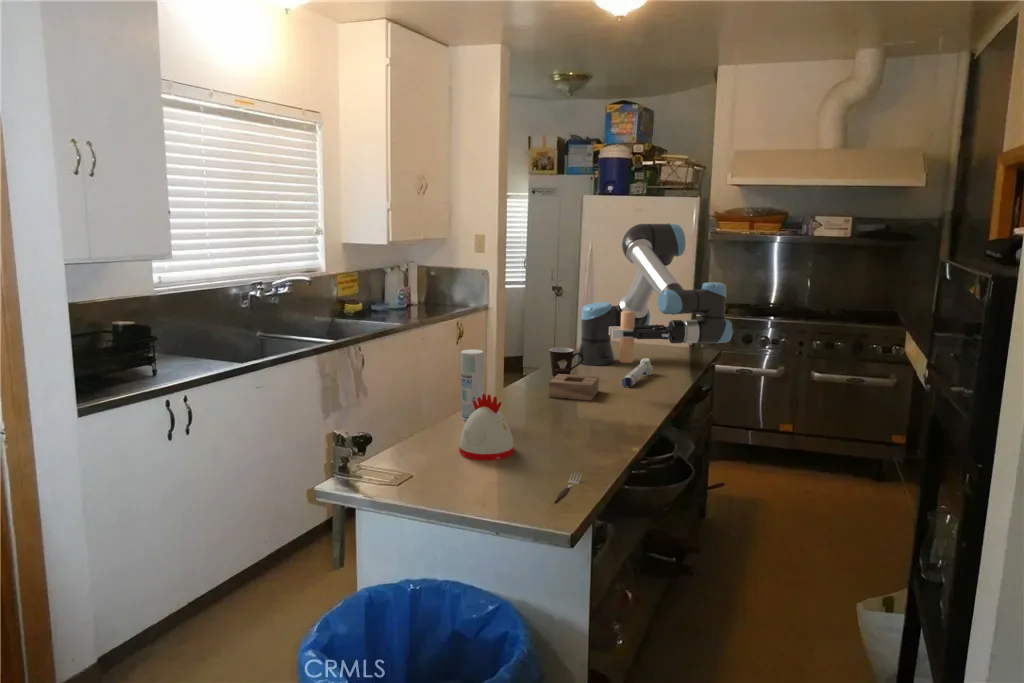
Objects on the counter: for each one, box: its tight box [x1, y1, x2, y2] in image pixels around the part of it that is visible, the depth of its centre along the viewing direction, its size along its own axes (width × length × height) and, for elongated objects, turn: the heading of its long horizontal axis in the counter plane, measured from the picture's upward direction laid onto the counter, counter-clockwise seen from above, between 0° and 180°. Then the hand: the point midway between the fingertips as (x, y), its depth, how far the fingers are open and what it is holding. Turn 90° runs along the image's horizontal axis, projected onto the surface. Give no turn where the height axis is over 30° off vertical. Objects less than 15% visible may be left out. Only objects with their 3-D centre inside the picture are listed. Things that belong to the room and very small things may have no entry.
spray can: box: [460, 349, 485, 422], centre depth 218 cm, size 6×6×20 cm
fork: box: [554, 470, 583, 504], centre depth 165 cm, size 3×16×2 cm, turn 158°
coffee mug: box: [549, 347, 583, 377], centre depth 272 cm, size 12×9×10 cm
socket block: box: [548, 374, 599, 401], centre depth 248 cm, size 13×14×5 cm
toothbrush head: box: [621, 357, 654, 388], centre depth 269 cm, size 5×7×25 cm
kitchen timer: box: [458, 393, 515, 461], centre depth 190 cm, size 14×14×15 cm
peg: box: [619, 311, 635, 364], centre depth 240 cm, size 4×4×16 cm
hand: (610, 332), depth 239 cm, fingers closed on peg, 4 cm apart
